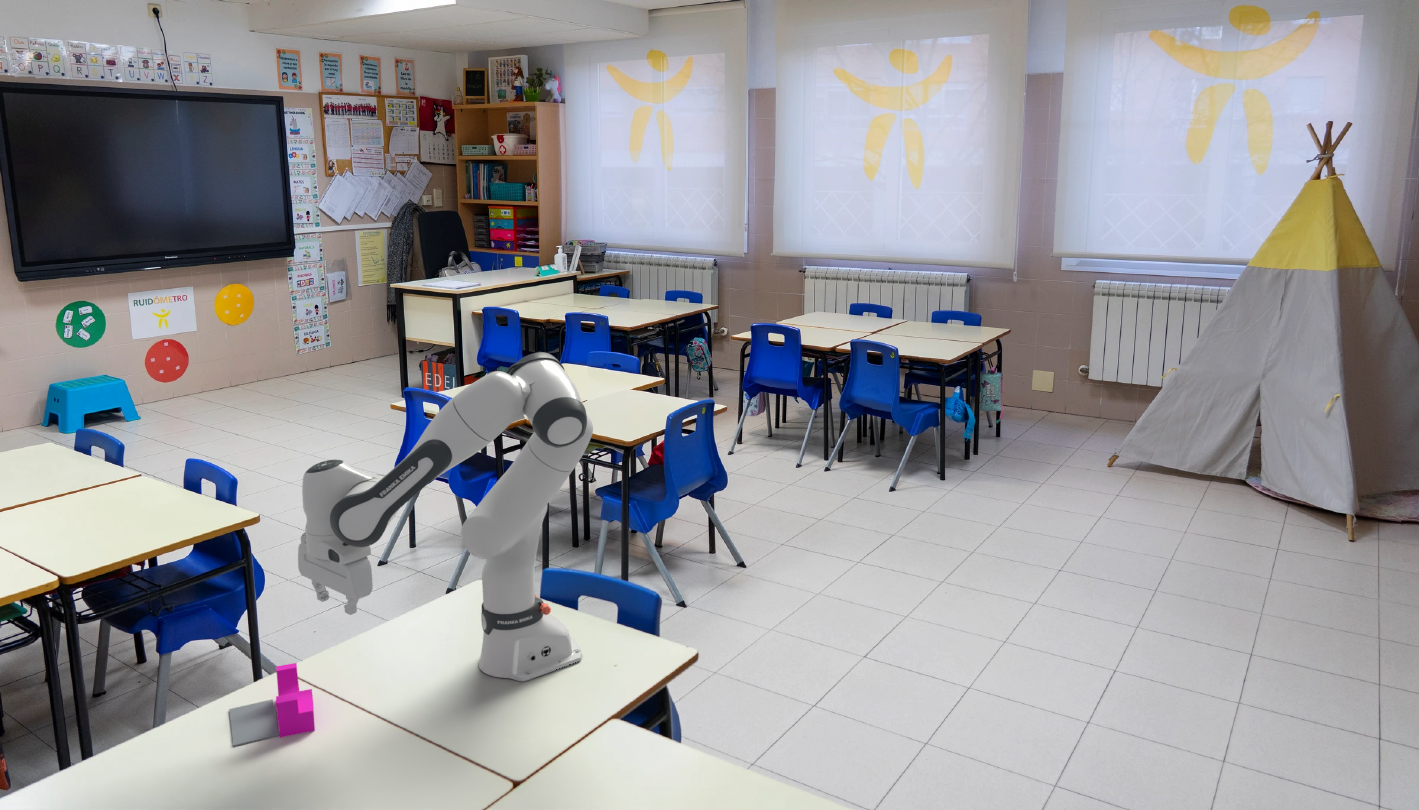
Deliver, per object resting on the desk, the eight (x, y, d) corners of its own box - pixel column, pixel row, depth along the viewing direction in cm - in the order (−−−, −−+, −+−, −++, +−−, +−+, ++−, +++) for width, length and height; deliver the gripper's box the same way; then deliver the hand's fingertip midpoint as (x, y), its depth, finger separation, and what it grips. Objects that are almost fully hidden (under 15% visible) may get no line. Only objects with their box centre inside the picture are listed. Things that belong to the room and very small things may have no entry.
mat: (272, 700, 199) (272, 699, 199) (279, 735, 187) (279, 734, 187) (229, 710, 195) (229, 709, 195) (233, 746, 183) (233, 745, 183)
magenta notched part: (314, 731, 189) (311, 696, 187) (279, 738, 186) (275, 703, 185) (312, 693, 202) (309, 660, 200) (280, 699, 200) (276, 666, 198)
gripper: (286, 533, 194) (293, 597, 197) (347, 559, 182) (352, 626, 185) (315, 524, 199) (321, 587, 202) (376, 549, 187) (381, 614, 190)
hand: (336, 606), depth 194 cm, fingers open, 8 cm apart
